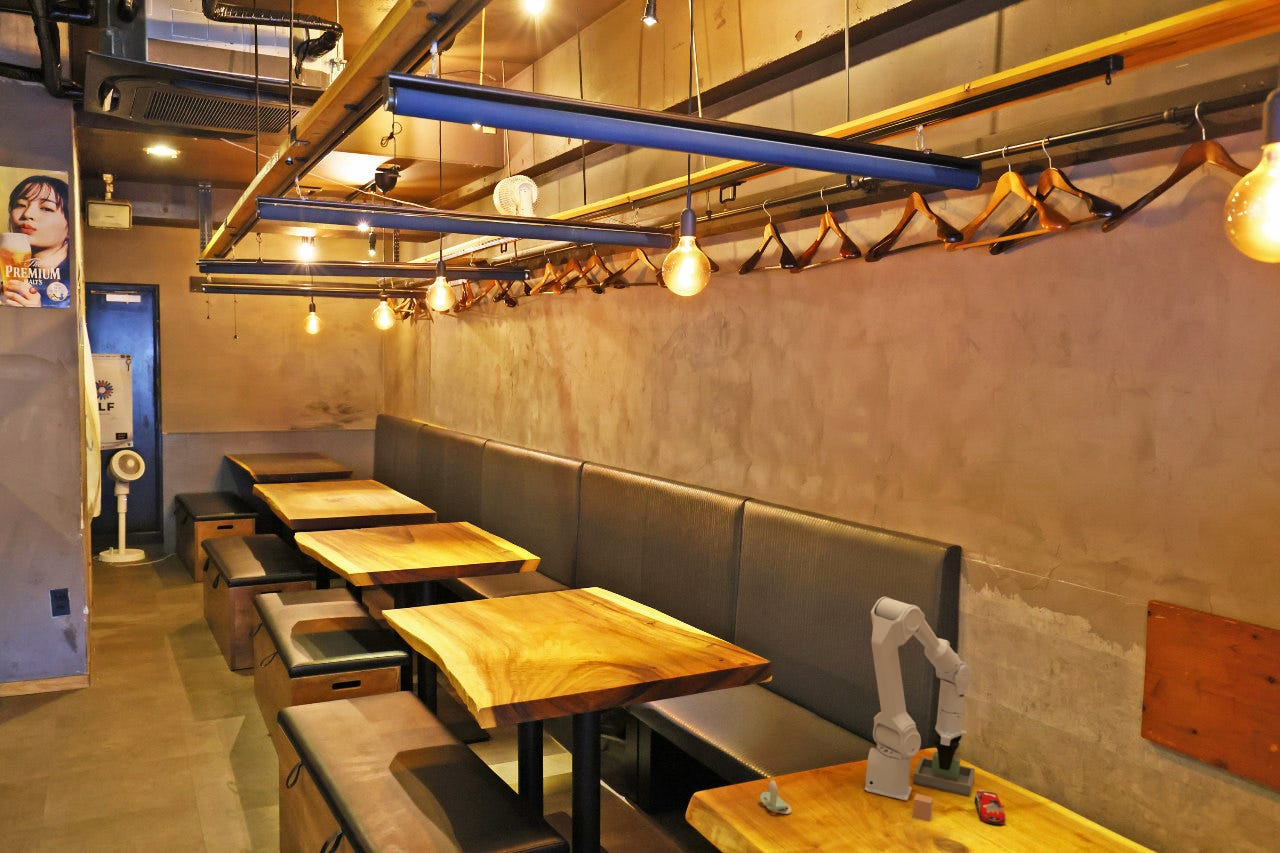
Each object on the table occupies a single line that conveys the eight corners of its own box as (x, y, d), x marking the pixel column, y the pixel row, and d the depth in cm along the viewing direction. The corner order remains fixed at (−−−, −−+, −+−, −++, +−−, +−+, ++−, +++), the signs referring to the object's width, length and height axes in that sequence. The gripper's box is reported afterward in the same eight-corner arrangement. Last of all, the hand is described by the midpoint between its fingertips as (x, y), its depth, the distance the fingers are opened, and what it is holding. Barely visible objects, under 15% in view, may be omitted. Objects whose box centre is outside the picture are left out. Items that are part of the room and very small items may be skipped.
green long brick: (931, 772, 226) (933, 755, 226) (933, 767, 229) (934, 751, 229) (957, 778, 223) (959, 761, 223) (959, 773, 227) (960, 757, 226)
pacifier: (781, 802, 207) (756, 802, 205) (784, 773, 207) (759, 773, 205) (797, 817, 200) (771, 817, 198) (800, 787, 200) (775, 788, 198)
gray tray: (912, 784, 223) (913, 773, 223) (920, 766, 235) (921, 756, 235) (969, 797, 218) (970, 786, 218) (973, 779, 230) (974, 768, 229)
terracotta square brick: (912, 817, 204) (914, 799, 204) (914, 811, 207) (916, 793, 207) (929, 821, 203) (931, 803, 203) (931, 815, 206) (933, 797, 206)
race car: (1006, 829, 203) (1008, 811, 203) (979, 824, 204) (981, 806, 204) (998, 805, 216) (1000, 787, 216) (973, 800, 217) (974, 783, 217)
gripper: (965, 721, 218) (960, 780, 218) (971, 705, 231) (965, 760, 231) (933, 715, 220) (928, 773, 221) (940, 699, 234) (935, 754, 234)
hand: (945, 766), depth 226 cm, fingers closed on green long brick, 3 cm apart
